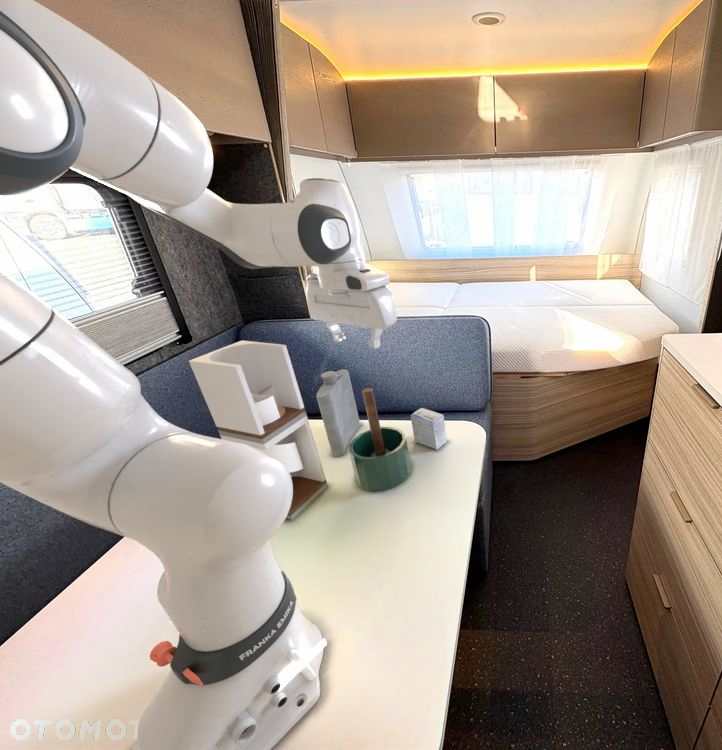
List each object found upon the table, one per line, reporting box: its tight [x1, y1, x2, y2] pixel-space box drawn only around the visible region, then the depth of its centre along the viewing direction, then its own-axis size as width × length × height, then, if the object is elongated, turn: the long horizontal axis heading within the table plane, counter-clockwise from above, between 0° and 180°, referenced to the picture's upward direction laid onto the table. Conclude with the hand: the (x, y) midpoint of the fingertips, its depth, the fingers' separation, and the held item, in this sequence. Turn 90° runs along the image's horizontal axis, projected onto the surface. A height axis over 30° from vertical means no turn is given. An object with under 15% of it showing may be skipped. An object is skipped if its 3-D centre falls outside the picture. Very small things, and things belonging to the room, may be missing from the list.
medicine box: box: [410, 407, 448, 451], centre depth 102 cm, size 8×4×9 cm, turn 58°
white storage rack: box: [188, 340, 328, 521], centre depth 79 cm, size 11×11×35 cm
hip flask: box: [315, 369, 361, 457], centre depth 102 cm, size 16×4×20 cm, turn 1°
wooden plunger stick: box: [361, 387, 390, 457], centre depth 88 cm, size 4×4×22 cm
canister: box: [348, 426, 412, 492], centre depth 91 cm, size 13×13×9 cm
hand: (357, 344), depth 78 cm, fingers open, 8 cm apart
